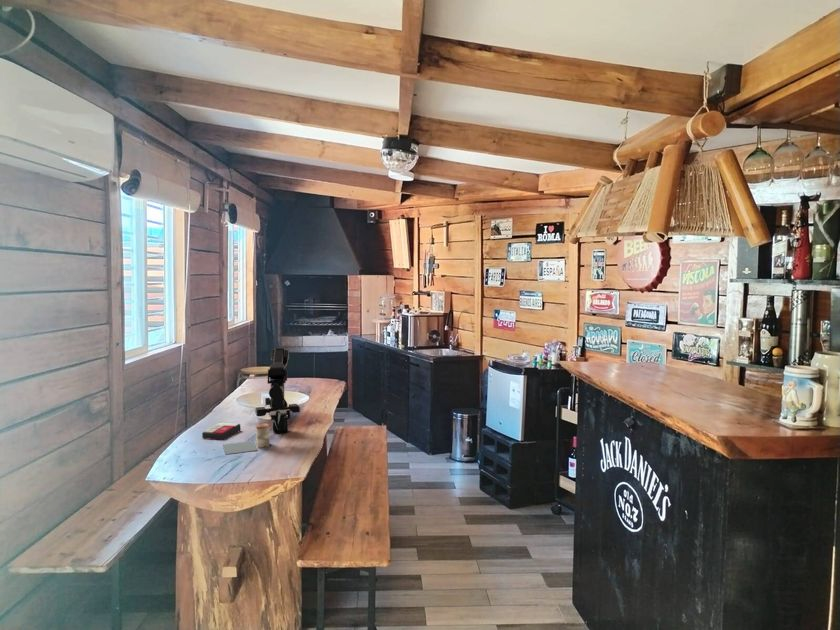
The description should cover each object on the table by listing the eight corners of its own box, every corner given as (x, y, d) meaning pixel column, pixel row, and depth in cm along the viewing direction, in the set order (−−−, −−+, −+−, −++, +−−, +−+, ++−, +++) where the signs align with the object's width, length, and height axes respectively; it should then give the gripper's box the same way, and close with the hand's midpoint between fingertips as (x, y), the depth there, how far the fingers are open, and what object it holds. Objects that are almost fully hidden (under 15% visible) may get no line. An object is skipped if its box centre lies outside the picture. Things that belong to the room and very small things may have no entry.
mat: (253, 441, 241) (253, 440, 241) (257, 450, 228) (257, 449, 228) (223, 445, 235) (223, 444, 235) (225, 454, 223) (225, 454, 223)
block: (267, 442, 239) (267, 423, 238) (269, 446, 234) (268, 426, 234) (256, 444, 237) (255, 424, 236) (257, 447, 232) (257, 427, 232)
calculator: (201, 431, 245) (220, 421, 260) (202, 440, 246) (220, 429, 260) (223, 432, 243) (240, 422, 257) (223, 441, 243) (241, 431, 258)
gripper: (294, 389, 248) (295, 422, 249) (253, 392, 240) (253, 426, 241) (299, 394, 238) (300, 428, 239) (256, 397, 230) (257, 433, 231)
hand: (277, 428), depth 238 cm, fingers closed
